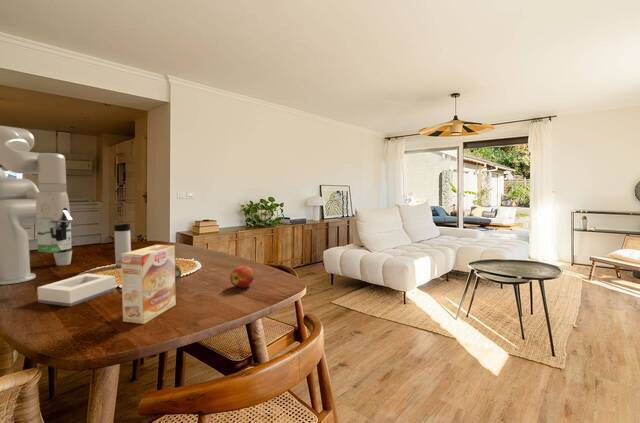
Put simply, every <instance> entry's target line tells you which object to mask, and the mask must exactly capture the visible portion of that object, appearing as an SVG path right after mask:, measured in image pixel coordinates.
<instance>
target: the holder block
mask: <svg viewBox="0 0 640 423" xmlns="http://www.w3.org/2000/svg"><path fill="white" fill-rule="evenodd" d="M116 279H117V278H116V275H108V274H107V275H106V274H96V273H88V272H87V273H82V274H80V275H76V276H72V277H69V278H66V279H62V280H58V281H54V282H52V283H47V284H45V285H41V286H38V287H36V288H37V289H36V290H37V301H38V302H37V303H38V304H39V303H41V304H47V305H48V304H49V305H56V306H64V307H72V306H75V305H78V304H81V303H83V302H87V301H90V300H92V299H94V298H97V297H100V296H103V295H105V294H108V293H110V292H114V291H116V290H117V283H116V282H117V280H116Z"/></svg>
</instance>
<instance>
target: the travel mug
mask: <svg viewBox="0 0 640 423" xmlns="http://www.w3.org/2000/svg"><path fill="white" fill-rule="evenodd" d="M113 226H114V228H113V229H114V230H113V231H114V252H115V253H114V255H115V256H114V257H115V267H116V268H121V254H123V253H127V252H131V251H132V247H131V246H132V244H131V242H132V241H131V229H130V228H131V225H130V223H123V224H115V225H113Z"/></svg>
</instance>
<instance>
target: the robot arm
mask: <svg viewBox="0 0 640 423" xmlns="http://www.w3.org/2000/svg"><path fill="white" fill-rule="evenodd" d="M34 146H35V137H34V135H33V134H32V133H31V132H30V130H28V129H25V128H19V127H13V126H6V125H5V126H4V125H0V166H1V167H3V168H5V169H6V170H7V171H10V172H11V173H16V174H35V175H36V174H37V176H38V178H37V180H38V186H37V185H36V183H35V182H33V181H32V180H30V179H27V178H14V177H13V178H12V177H7V175H6V174H5V171H4V170H3V169H2V168H1V167H0V286H1V285H3V286H4V285H11V284H13V285H14V284H18V283H19V284H20V283H23V282H28V281H31V280H34V279H35V278H36V277H37V276H36V273H33V272H31V264H30V263H31V262H30V260H31V259H30V246H29V245H30V244H29V242H30V241H29V235H28V232H27V230H25V229H24V228H23V227H22V226H21V225H20V224H22V225H23V224H28V223H29V224H30V223H31V224H32V223H37V219H38V218H47V219H51V220H52V221H53V222H55V221H56V225H57V229H58V230H56V240H57V241H61V240H66V239H67V236H66V229H67V228H68V225H69V224H70V223H71V224H72V222H73V218H72V217H71V210H70V208H71V207H70V202H69V195H68V193H67V168H66V157H65V155H63V154H61V153H55V152H53V153H52V152H34V151H31V150H32V149H33V148H34ZM61 219H62V220H61ZM60 222H62V224H60Z"/></svg>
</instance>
